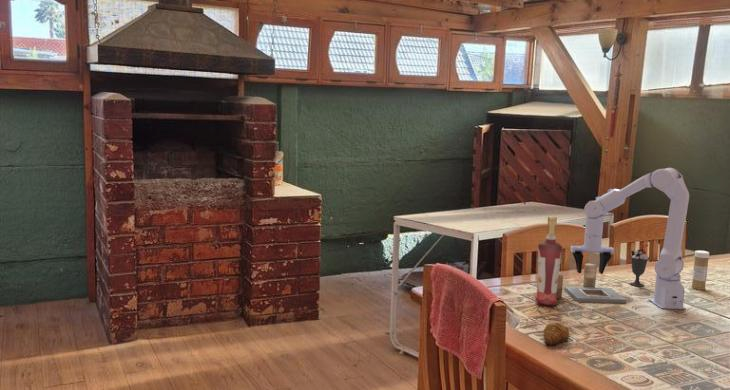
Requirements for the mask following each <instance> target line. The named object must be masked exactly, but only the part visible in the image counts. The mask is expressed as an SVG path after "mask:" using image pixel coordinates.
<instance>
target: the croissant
mask: <svg viewBox="0 0 730 390" xmlns="http://www.w3.org/2000/svg"><path fill="white" fill-rule="evenodd" d="M542 333H543V335H542V336H543V339H544V341H545V345H547V346H549V347H550V346H556V345H559V344H560V343H564V342H565V341H566V339H568V337H569V336H570V331H569V329H568V327H567V326H566V325H563V324H561V323H560V322H552V323H551V322H550V323H548V324H547V325H546V326H545V327H544V329H543V332H542Z"/></svg>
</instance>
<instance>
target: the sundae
mask: <svg viewBox="0 0 730 390" xmlns="http://www.w3.org/2000/svg"><path fill="white" fill-rule="evenodd" d="M646 247H648V245H647V244H645V245H644V246H643V247H642V248H640V249H637V250H635V251H634V250H631V255H629V258H630V260H631V272H632V273H633V274H634V275H635V280H634V282H629V285H630V286H632V287H637V288H641V287H642V288H643V287H645V284H643V283H641V282H640V276H642V275H643V274H644V273H645V271H646V267H647V264H648V262H649V261H650V260H651V259H650V257H649V256H648V254H647V251H646V250H645V248H646Z"/></svg>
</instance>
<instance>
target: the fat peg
mask: <svg viewBox="0 0 730 390" xmlns="http://www.w3.org/2000/svg"><path fill="white" fill-rule="evenodd" d="M563 282H564V275H563V274H561V273H559V277H558V285H557V295H556V299H560V298H562V295H563V284H564V283H563Z"/></svg>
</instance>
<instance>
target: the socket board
mask: <svg viewBox="0 0 730 390" xmlns="http://www.w3.org/2000/svg"><path fill="white" fill-rule="evenodd" d="M564 291H565V293H567V294H568V295H569V296H570V297H571V298H572V299H573V300H574V301H576V302H577V303H607V304H610V303H611V304H612V303H613V304H626V303H627V299H626V298H625V297H624V296H622V295H621V294H619V292H618V291H616V290H615V289H613V288H611V287H595V288H592V287H583V286H564ZM588 294H589V295H588ZM590 294H597V295H590ZM598 294H601V295H598Z"/></svg>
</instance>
